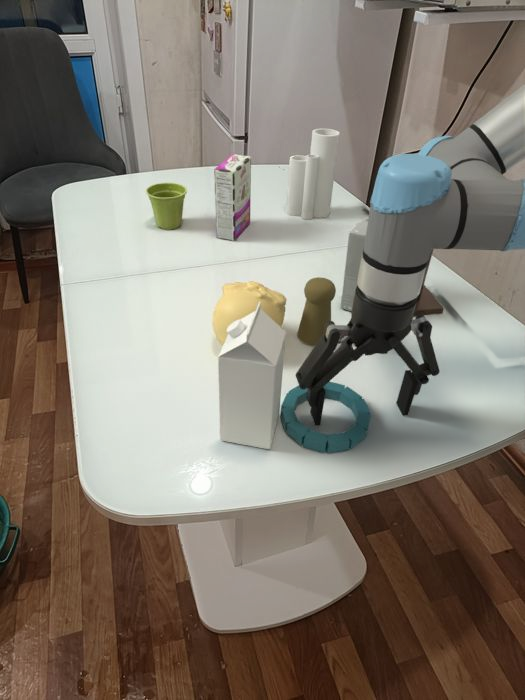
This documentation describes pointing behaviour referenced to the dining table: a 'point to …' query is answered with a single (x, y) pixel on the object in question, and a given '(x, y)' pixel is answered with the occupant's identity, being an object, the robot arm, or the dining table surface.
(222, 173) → the candy bar box
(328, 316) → the brown pawn
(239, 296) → the sculpture
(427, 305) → the post
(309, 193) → the vase
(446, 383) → the dining table surface
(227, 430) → the milk carton
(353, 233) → the cosmetic box
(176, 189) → the plant pot
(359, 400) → the ring
